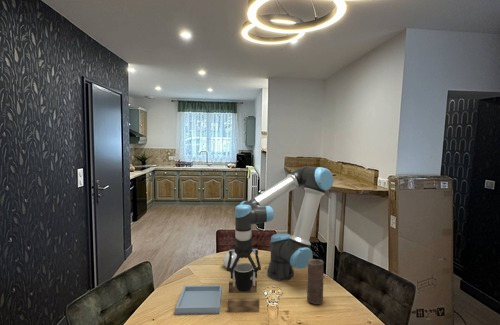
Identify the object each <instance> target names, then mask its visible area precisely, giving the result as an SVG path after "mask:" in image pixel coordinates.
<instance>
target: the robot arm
mask: <svg viewBox="0 0 500 325" xmlns="http://www.w3.org/2000/svg"><path fill="white" fill-rule="evenodd" d="M333 184H334V177H333V174H332V172H331V170H330V169H328V168H327V167H326V168H325V167H321V166H310V165H304V166H302V167H299V168H297V169H295V170H292V171H291V172H290V173H288V174H287V175H286V177H285V178H283V179H282V180H280V181H279V182H277V183H275V184H274V185H272V186H270V187H269V188H267V189H266V190H265V191H262V192H261V193H259V194H258V195H256V196H254V197H253V198H251V199H250V200H243V201H241V202H240V203H239V204H238V205H236V206H235V208H234V209H235V210H234V223H235V224H234V226H235V229H234V231H235V233H234V234H235V239H234V240H235V246H234V247H235V248H234V249H228V253H229V260H228V264H227V267H226V272H229V273H230V279H232V281H233V286H235V274H234V268H235V267H236V265H237V263H238V264H239V262H238V260H239V261H240V259H247V260H249V264H251V265H252V267H253V286H255V281H256V279H257V278H258V271H261V270H262V267H261V262H260V258H259V250H258V248H253V247H252V225H256V224H257V225H258V224H264V223H269V222H272V221H273V220H274V217H275V213H274V212H275V211H274V209H273V207H272V206H269V205H271V204H272V203H274V202H275V201H277V200H278V199H279V200H280V198H282V197H283V196H285V195H286V194H288V193H289V192H291V191H293V190H297V189H299V188H301V187H303V190H304V192H305V193H304V197H303V201H302V203H301V207H300V210H299V214H298V218H297V220H296V224H295V227H294V232H293V235H292V234H289V233H275V234H273V235H271V237H270V260H269V264H268V266H267V270H266V272H267V277H269V278H270V279H272V280H275V281H288V280H291V279H293V278H294V276H295V271H294V268H295V269H298V270H302V269H303V270H304V269H305V268H306V267H308V261H309V260H310V259H313V251H312V249H311V245H312V243H311V242H310V238H311V235H312V231H313V227H314V225H315V221H316V216H317V214H318V210H319V206H320V202H321V199H322V197H323V196H324V195H326V192H327V191H329V190H330V189H331V188H332V187H333ZM234 252H235V253H236V254H237V256H236V259H235V261H234V263H233V265H232V267H231V268H230V264H231V259H232V255H233V254H234ZM252 253H253V255H255V261H256V264H257V265H256V264H255V262H254V259H253V258H252Z"/></svg>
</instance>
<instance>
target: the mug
mask: <svg viewBox="0 0 500 325" xmlns="http://www.w3.org/2000/svg"><path fill="white" fill-rule="evenodd" d="M253 270H254V269H253V267H252V265H251V263H245V262H244V263H238V265H236V267H235V268H234V274H235V282H236V287H237V289H238V290H239V291H241V292H240V293H248V292H247V291H249V290H250V289H251V287H252V283H253Z"/></svg>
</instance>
